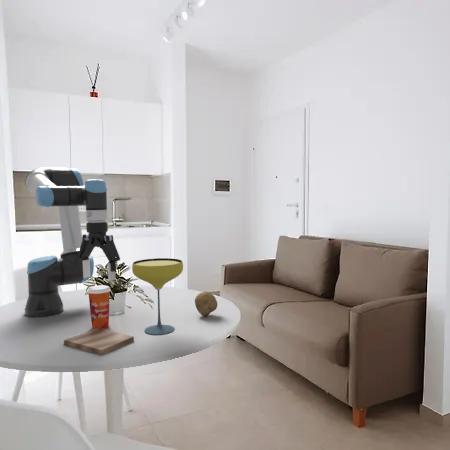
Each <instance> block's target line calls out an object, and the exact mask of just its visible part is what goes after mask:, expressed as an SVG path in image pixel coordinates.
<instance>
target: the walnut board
mask: <svg viewBox="0 0 450 450" xmlns="http://www.w3.org/2000/svg"><path fill="white" fill-rule="evenodd" d="M132 342H135V337H134V336H133V335H129V334H124V333H120V332H117V331H116V332H115V331H111V330H106V329H99V328H96V329H93V328H92V329H91V330H88V331H85V332H82V333H80V334H76V335H74V336H71V337H68V338H66V339H63V345H64V346H68V347H73V348H76V349H80V350H83V351H86V352H90V353H94V354H98V355H101V356H102V355H104V354H107V353H109V352H111V351H113V350H116V349H118V348H120V347H123V346H125V345H128V344H130V343H132Z"/></svg>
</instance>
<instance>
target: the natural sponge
mask: <svg viewBox="0 0 450 450" xmlns="http://www.w3.org/2000/svg"><path fill="white" fill-rule="evenodd" d="M194 305H195V308H196V310H197V312H198V313H199V314H200V315H201V316H202V317H208V316H209V315H210V314H211V313H212V312H214V311H216V310H217V309H218V301H217V299H216V297H215V295H214V294H213V293H212V292H209V291H202V292H199V293H198V294H197V295H196V296H195V298H194Z"/></svg>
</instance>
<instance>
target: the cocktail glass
mask: <svg viewBox="0 0 450 450" xmlns="http://www.w3.org/2000/svg"><path fill="white" fill-rule="evenodd" d="M131 269H132V274H133V275H134V276H135V277H136V278H138V279H140V280H141V281H143V282H146V283H148V284H150V285H151V286H152V287H154V289H155V290H156V291H157V324H155V325H151V326H150V325H149V326H148V327H145V328H144V330H143V331H144V333H145V334H147V335H152V336H153V335H154V336H162V335H167V334H170V333H173V332H174V331H175V327H174V326H172V325H170V324H162V320H161V305H160V304H161V300H160V290H161V289H163V288H164V286H165V285H166V284H167V283H168V282H170V281H172V280H174V279H176V278H178V277H179V276H180V275H181V274H182V273H183V270H184V263H183V261H182V260H181V259H177V258H167V257H166V258H164V257H163V258H147V259H140V260H136V261H134V262H132V266H131ZM172 331H173V332H172Z"/></svg>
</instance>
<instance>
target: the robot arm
mask: <svg viewBox="0 0 450 450" xmlns="http://www.w3.org/2000/svg"><path fill="white" fill-rule="evenodd" d="M24 185H25V188H26V190H28V191H29V192H30V193H32V194H35V201H36V205H38V207H44V208H45V207H46V208H49V207H57V209H58V215H59V223H60V233H61V240H62V248H63V249H62V250H63V251H62V252H61V253H60V256H59V257H60V258H58V256H56V255H47V256H41V257H40V256H39V257H36V258H34V259H31V260H30V261H29V262H28V263H27V267H26V268H27V271H26V273H27V287H28V290H27V291H28V296H27V299H26V304H25V308H24V315H25V316H27V317H32V318H33V317H35V318H37V317H47V316H53V315H57V314H59V313H62V312H63V311H64V303H63V301H62V298H61V296H60V294H59V287H60V286H68V285H74V284H82V282H83V281H86V280H88V279H89V278H91V277H92V278H93V275H94V269H95V262H94V258H93V256H91V254H92V252H93V251H94V249H95V248H100V249H101V250H102V252H103V253H104V255H105V257H106V258H107V261H108V262H107V276H108V278H107V281H108V282H111V281H115V280H116V271H117V262H119V261H121V257H120V254H119V251H118V249H117V246H116V244H115V241H114V236H113V234H109V235H108V234H107V232H108V231H109V226H108V225H109V223H108V222H107V221H108V204H107V203H108V201H107V199H108V198H107V197H108V196H107V191H108V188H107V182H106V181H105V180H104V179H86V180H85V181H84V180H83V175H82V173H81V172H80V171H79V169H77V168H72V167H46V166H45V167H38V168H35V169H33V170H31V171H29V172H28V173H27V174H26V175H25V178H24ZM79 206H80V207H85V220H86V222H87V223H86V224H85V225H86V226H85V227H86V228H85V229H86V233H87V234H86V233H85V234H83V233H82V225H81V217H80V210H79V209H80V208H79ZM92 278H91V279H92Z"/></svg>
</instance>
